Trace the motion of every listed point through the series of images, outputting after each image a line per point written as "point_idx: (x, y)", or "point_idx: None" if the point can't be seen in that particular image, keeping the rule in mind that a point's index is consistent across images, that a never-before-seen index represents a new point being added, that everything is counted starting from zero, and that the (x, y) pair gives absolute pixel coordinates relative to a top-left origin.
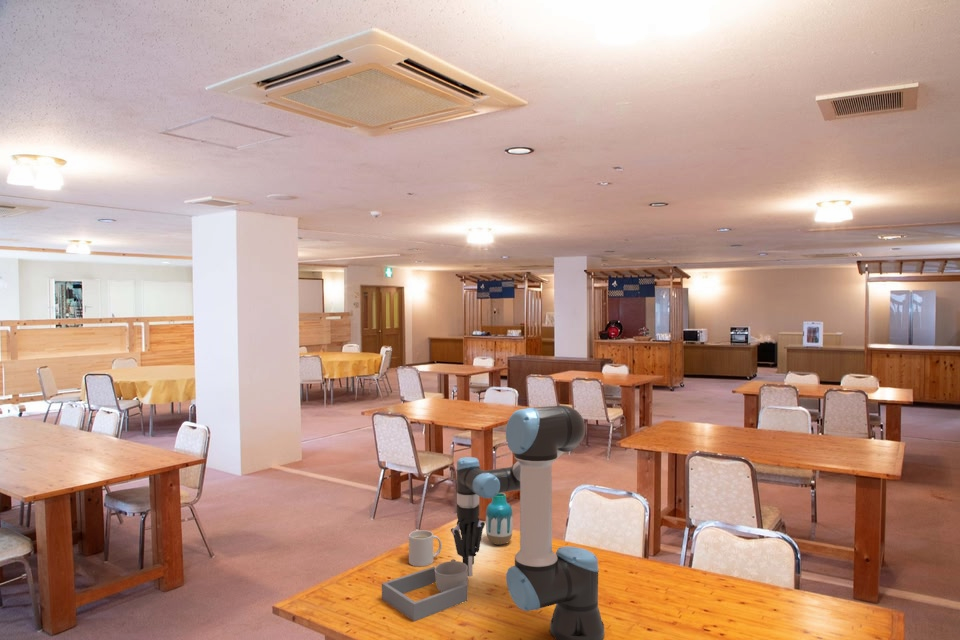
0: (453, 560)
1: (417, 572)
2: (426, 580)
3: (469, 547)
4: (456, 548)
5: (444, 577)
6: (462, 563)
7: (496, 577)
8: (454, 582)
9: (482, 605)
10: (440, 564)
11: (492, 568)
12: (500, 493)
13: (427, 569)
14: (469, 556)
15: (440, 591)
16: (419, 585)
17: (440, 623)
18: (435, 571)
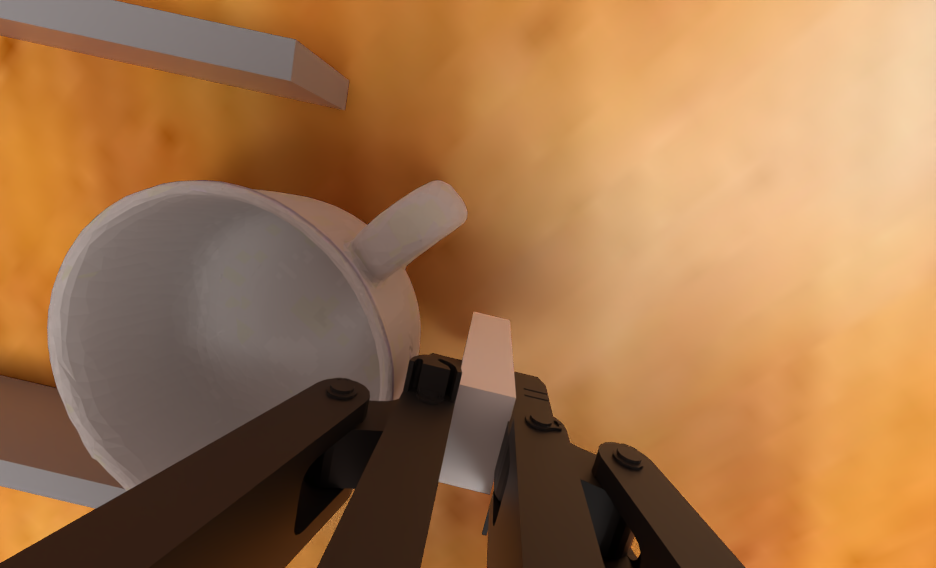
0: (386, 252)
1: (83, 8)
2: (236, 81)
3: (501, 517)
4: (245, 430)
5: (92, 397)
6: (380, 397)
7: (699, 418)
8: (186, 446)
9: (314, 557)
10: (213, 193)
11: (835, 304)
12: None
13: (205, 39)
14: (461, 469)
15: (207, 293)
16: (182, 72)
17: (15, 496)
18: (59, 275)
